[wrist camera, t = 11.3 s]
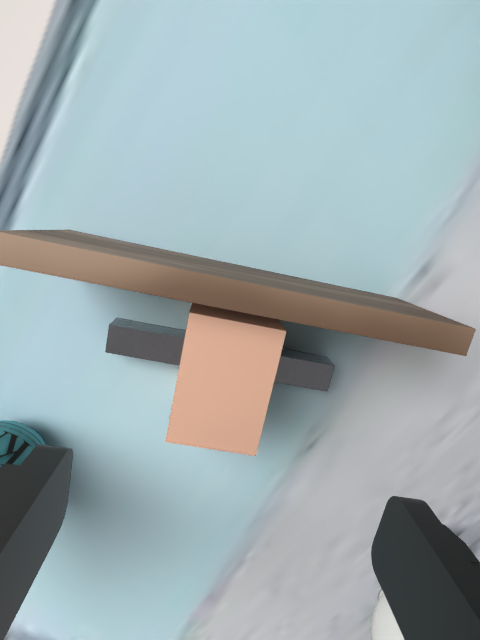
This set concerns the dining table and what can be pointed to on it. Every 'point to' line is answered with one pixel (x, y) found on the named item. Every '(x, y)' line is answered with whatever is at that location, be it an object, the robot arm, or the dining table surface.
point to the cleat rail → (169, 346)
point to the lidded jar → (384, 621)
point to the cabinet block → (225, 379)
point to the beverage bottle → (17, 442)
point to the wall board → (230, 287)
